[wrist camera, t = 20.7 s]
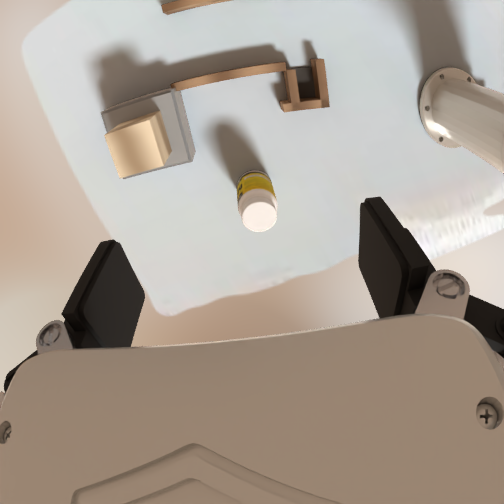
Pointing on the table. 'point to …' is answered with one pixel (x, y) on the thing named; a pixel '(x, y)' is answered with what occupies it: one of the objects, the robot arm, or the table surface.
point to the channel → (296, 79)
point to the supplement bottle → (256, 201)
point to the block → (139, 144)
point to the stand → (172, 118)
